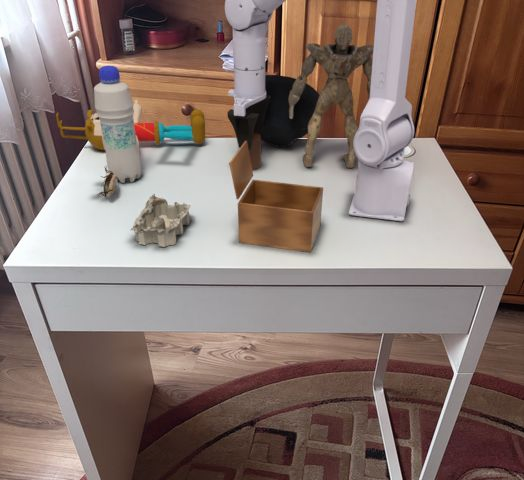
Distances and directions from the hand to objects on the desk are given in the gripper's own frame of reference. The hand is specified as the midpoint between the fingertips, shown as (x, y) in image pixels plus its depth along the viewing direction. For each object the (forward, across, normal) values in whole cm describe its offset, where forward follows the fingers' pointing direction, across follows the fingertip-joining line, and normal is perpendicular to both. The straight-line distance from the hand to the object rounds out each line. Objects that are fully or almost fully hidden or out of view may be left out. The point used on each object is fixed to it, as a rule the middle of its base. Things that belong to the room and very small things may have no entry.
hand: (250, 141), depth 108 cm
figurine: (+5, -6, +15) cm, 17 cm away
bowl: (+2, -8, +2) cm, 9 cm away
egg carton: (+5, +29, -7) cm, 30 cm away
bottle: (+5, +12, -22) cm, 25 cm away
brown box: (+5, +25, +12) cm, 28 cm away
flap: (-6, +25, +6) cm, 26 cm away
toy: (+2, -9, -12) cm, 16 cm away
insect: (+2, +19, -23) cm, 30 cm away
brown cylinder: (+5, 0, 0) cm, 5 cm away
